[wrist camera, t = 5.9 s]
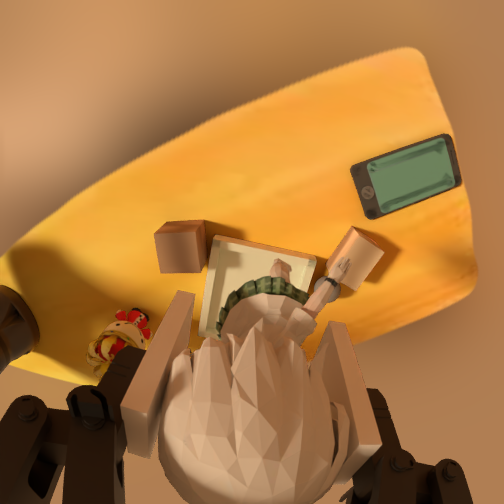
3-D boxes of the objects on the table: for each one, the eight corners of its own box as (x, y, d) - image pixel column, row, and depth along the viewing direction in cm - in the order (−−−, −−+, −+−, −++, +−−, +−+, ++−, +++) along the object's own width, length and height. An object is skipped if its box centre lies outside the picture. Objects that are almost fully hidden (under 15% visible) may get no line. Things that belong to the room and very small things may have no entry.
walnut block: (172, 257, 41) (160, 273, 37) (166, 221, 40) (153, 233, 35) (208, 256, 41) (200, 272, 36) (204, 219, 39) (195, 231, 35)
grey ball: (309, 291, 42) (312, 305, 39) (316, 268, 41) (320, 281, 37) (333, 296, 42) (337, 310, 39) (341, 274, 41) (346, 286, 38)
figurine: (239, 345, 22) (207, 554, 8) (173, 291, 20) (68, 495, 6) (355, 250, 19) (473, 470, 5) (288, 177, 17) (350, 369, 3)
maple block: (325, 262, 40) (330, 276, 37) (351, 225, 38) (359, 235, 35) (348, 276, 41) (355, 291, 37) (374, 241, 39) (384, 252, 35)
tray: (200, 328, 45) (197, 335, 44) (215, 234, 40) (212, 238, 38) (285, 345, 46) (285, 353, 44) (315, 255, 40) (316, 261, 38)
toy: (169, 314, 45) (135, 384, 31) (150, 342, 47) (116, 410, 33) (129, 286, 43) (81, 349, 30) (113, 317, 46) (69, 379, 32)
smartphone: (350, 167, 35) (450, 132, 32) (347, 166, 36) (445, 132, 33) (368, 223, 37) (463, 185, 34) (366, 220, 38) (458, 183, 35)
